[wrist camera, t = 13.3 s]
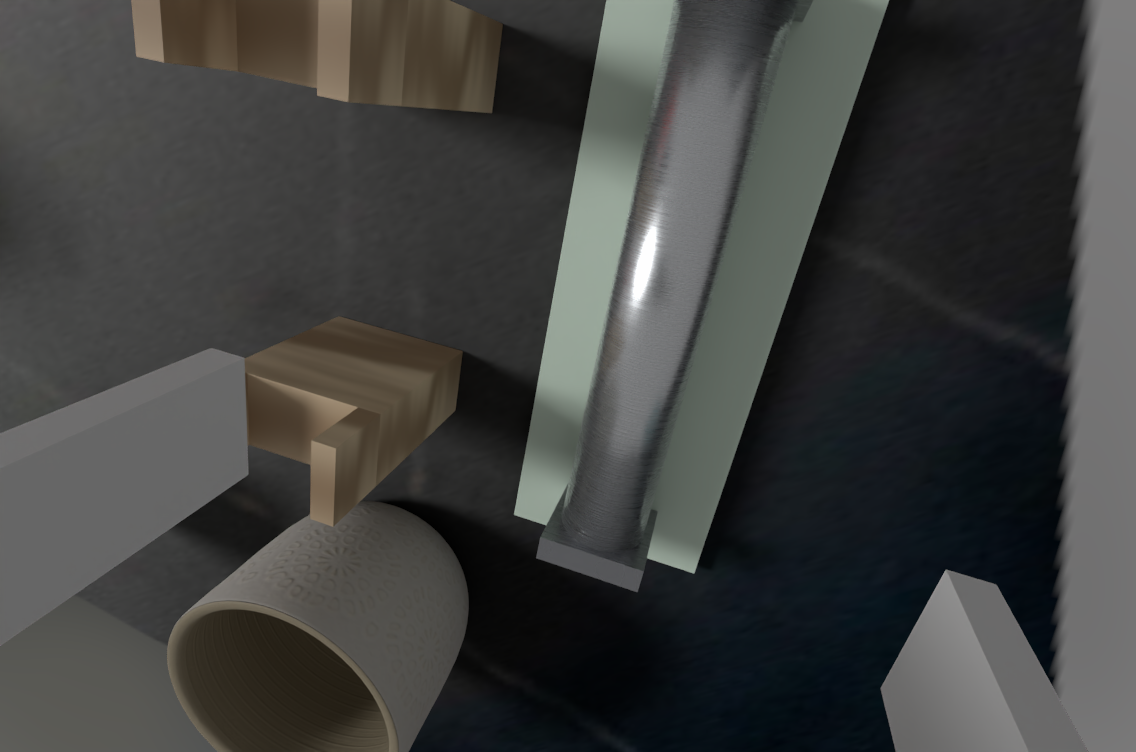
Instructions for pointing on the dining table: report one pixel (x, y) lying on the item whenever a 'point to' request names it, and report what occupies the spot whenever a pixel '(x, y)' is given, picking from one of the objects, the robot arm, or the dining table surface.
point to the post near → (335, 46)
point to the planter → (325, 638)
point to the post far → (348, 405)
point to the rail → (666, 275)
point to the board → (749, 269)
